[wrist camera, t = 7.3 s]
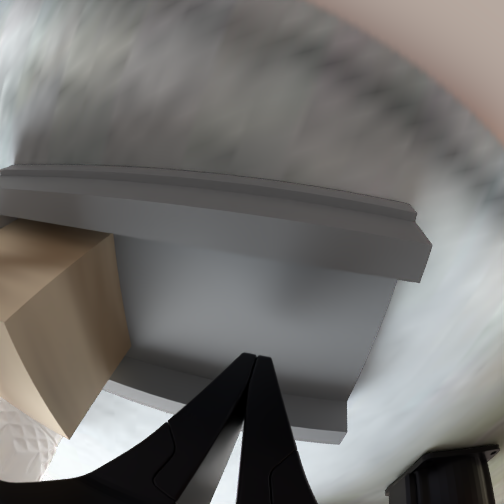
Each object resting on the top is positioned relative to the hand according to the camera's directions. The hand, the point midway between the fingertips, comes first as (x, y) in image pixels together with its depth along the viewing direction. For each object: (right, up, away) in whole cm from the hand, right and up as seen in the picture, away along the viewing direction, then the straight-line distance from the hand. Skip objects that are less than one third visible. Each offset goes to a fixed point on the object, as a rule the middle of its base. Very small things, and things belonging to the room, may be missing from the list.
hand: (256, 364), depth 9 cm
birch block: (-7, +2, +2) cm, 8 cm away
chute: (-3, +2, +2) cm, 5 cm away
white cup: (-19, -10, +12) cm, 24 cm away
